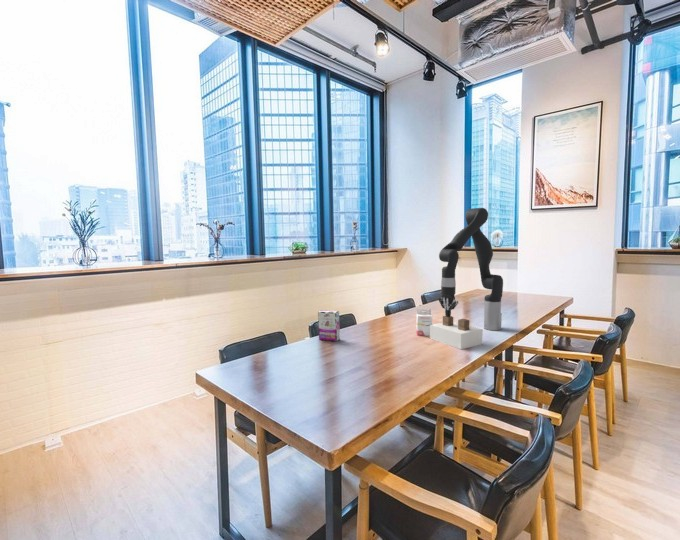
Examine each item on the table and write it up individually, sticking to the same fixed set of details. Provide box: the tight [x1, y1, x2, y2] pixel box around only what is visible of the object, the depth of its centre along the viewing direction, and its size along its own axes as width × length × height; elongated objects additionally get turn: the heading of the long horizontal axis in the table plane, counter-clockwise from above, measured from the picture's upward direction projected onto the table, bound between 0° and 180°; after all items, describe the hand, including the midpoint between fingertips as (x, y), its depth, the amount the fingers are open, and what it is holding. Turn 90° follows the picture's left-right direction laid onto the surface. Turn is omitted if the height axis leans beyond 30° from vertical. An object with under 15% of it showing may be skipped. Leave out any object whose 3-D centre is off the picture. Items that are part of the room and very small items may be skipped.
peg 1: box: [442, 315, 454, 326], centre depth 196 cm, size 4×4×7 cm
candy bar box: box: [317, 309, 341, 342], centre depth 200 cm, size 11×5×16 cm, turn 68°
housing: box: [429, 321, 484, 350], centre depth 192 cm, size 16×22×8 cm
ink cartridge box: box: [415, 308, 433, 337], centre depth 206 cm, size 9×5×15 cm, turn 84°
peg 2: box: [457, 318, 470, 331], centre depth 187 cm, size 4×4×7 cm
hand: (447, 316), depth 196 cm, fingers closed
